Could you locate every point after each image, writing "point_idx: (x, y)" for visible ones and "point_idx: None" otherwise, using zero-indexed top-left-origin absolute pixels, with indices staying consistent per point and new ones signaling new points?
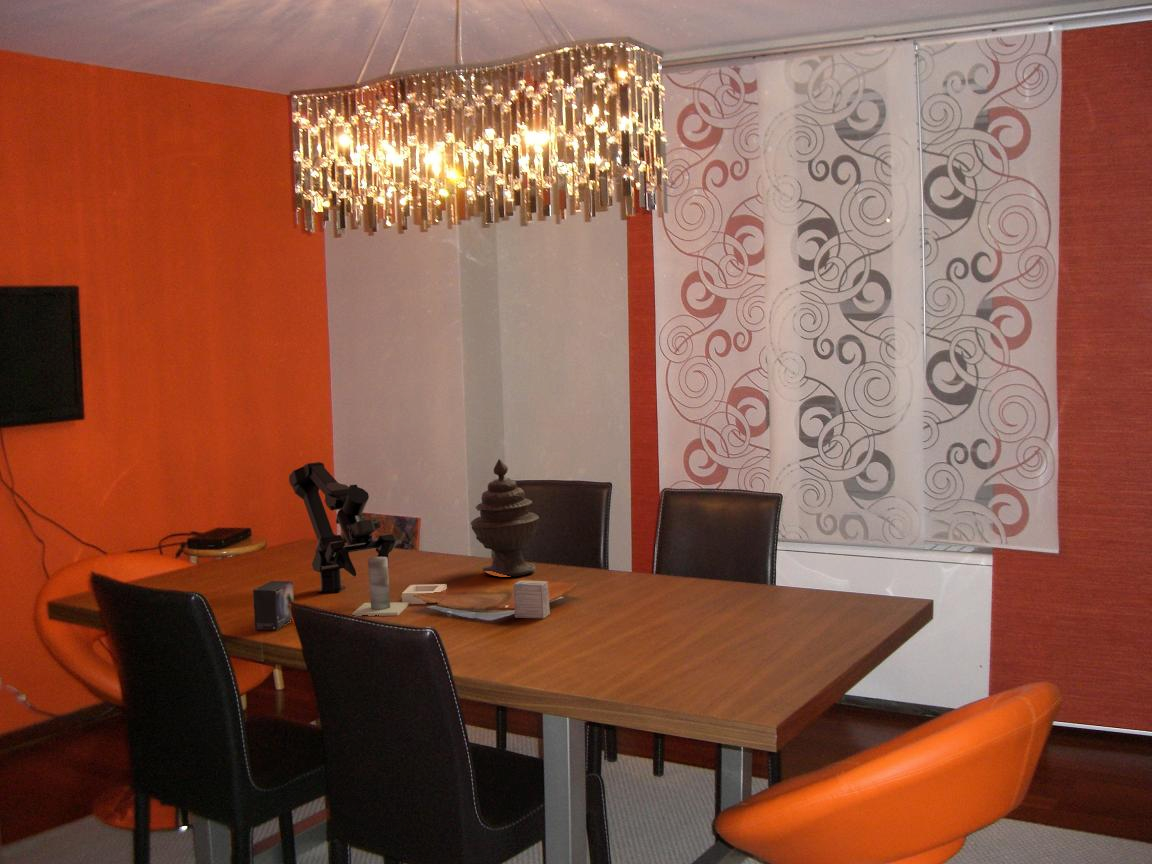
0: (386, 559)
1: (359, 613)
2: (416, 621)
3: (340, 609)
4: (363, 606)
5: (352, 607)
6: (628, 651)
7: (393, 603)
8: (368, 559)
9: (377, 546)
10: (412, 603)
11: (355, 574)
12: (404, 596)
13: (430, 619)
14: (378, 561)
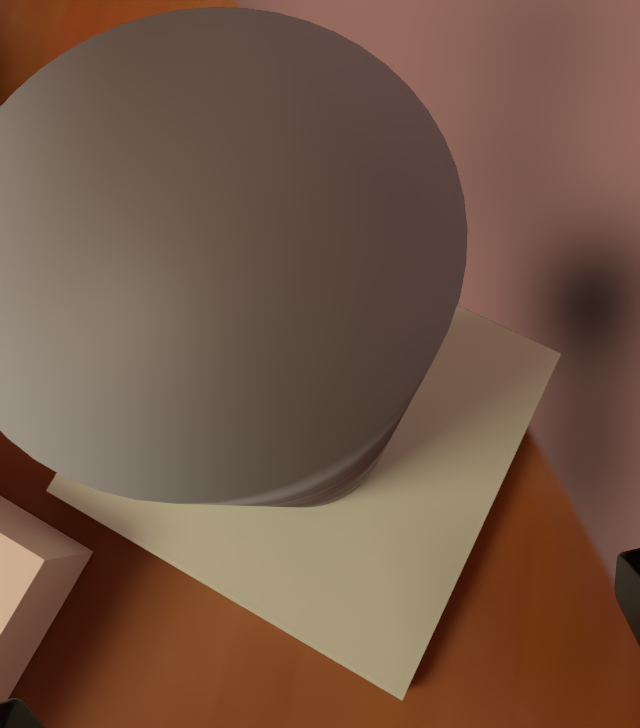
0: (19, 107)
1: (501, 328)
2: (165, 9)
3: (633, 682)
4: (436, 550)
5: (516, 699)
6: None
7: (170, 513)
8: (451, 278)
9: None
10: (16, 508)
11: (637, 549)
12: (39, 542)
13: (73, 15)
14: (244, 29)
